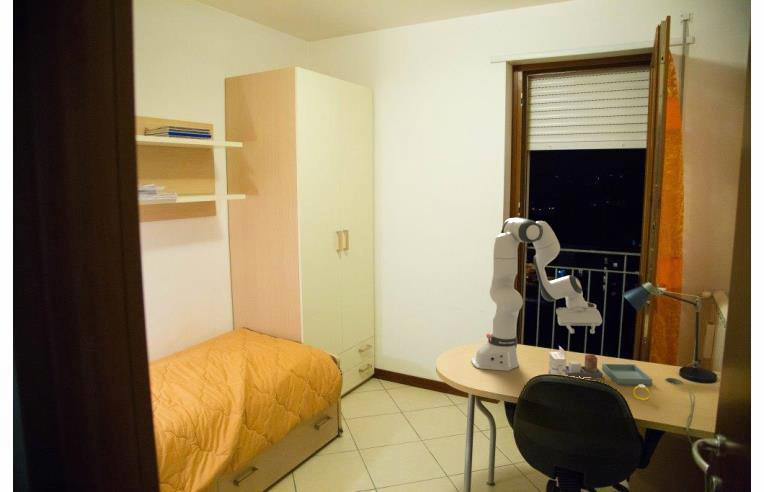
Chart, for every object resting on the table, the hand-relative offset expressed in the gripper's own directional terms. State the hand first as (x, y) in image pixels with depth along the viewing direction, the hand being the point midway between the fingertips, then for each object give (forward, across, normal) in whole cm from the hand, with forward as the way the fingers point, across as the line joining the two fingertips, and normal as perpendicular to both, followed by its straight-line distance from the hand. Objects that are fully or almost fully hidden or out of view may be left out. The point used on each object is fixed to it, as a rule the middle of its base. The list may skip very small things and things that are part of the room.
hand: (582, 333), depth 226 cm
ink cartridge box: (+24, -17, -2) cm, 30 cm away
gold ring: (+36, +12, -14) cm, 41 cm away
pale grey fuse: (+20, -7, +2) cm, 21 cm away
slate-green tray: (+21, +15, +1) cm, 26 cm away
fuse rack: (+20, -4, +2) cm, 20 cm away
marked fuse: (+20, 0, +2) cm, 20 cm away
